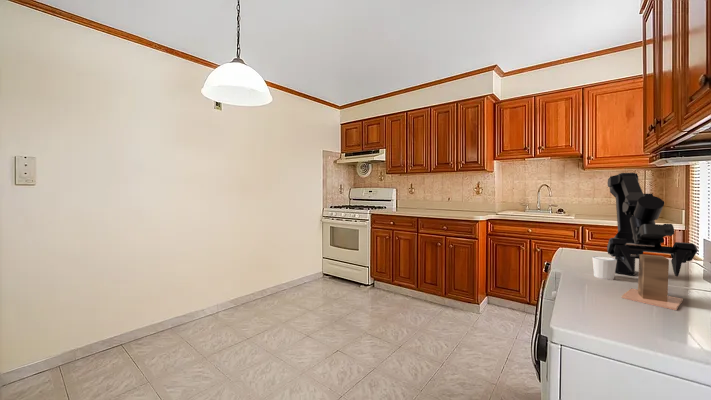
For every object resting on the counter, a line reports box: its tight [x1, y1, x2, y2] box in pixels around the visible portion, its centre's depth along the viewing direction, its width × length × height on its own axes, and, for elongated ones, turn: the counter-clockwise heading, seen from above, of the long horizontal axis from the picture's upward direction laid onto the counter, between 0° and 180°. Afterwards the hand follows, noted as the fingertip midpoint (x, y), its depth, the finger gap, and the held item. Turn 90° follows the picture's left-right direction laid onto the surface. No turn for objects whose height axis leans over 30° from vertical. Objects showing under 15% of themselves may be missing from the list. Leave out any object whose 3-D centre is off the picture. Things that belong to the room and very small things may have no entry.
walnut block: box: [637, 253, 670, 302], centre depth 85 cm, size 5×5×12 cm
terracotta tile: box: [621, 288, 684, 311], centre depth 86 cm, size 11×11×1 cm
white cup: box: [591, 255, 617, 280], centre depth 107 cm, size 7×7×7 cm
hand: (654, 273), depth 84 cm, fingers open, 9 cm apart
